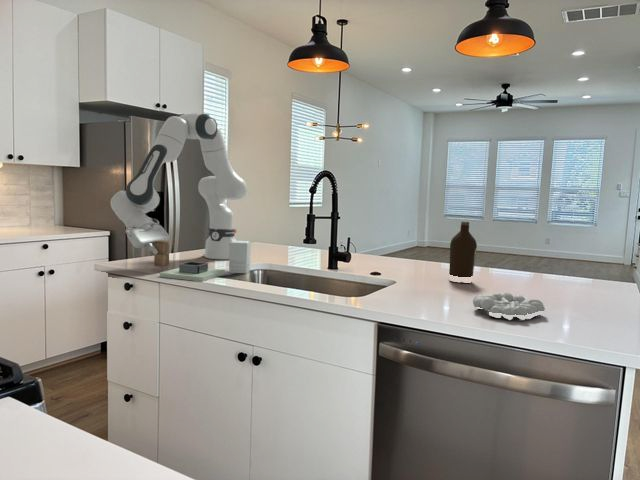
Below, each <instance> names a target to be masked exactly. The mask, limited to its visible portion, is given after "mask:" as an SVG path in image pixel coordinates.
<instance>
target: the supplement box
mask: <svg viewBox="0 0 640 480" xmlns="http://www.w3.org/2000/svg"><path fill="white" fill-rule="evenodd" d="M229 244H230V249H229V259H228V262H229V263H228V265H229V267H228V269H229V271H228V273H229V274H230V273H232V274H247V273H249V272H250V271H251V251H252V249H251V248H252V247H251V244H252V243H251V241H250V240H249V241H248V240H237V241H235V240H234V241H232V242H230V243H229Z"/></svg>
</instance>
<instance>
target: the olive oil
mask: <svg viewBox="0 0 640 480" xmlns="http://www.w3.org/2000/svg"><path fill="white" fill-rule="evenodd" d="M469 230H470V222H469V221H461V223H460V230H459V231H458V232H457V233H456V234H455V235H454V236H453V237H452V239H451V240H450V243H449V271H448V272H449V274H450V275H453V276H458V277H471V276H473V277H474V269H475V261H476V255H477V249H478V244H477V241H476V239H475V238H474V236H473V235H472V234H471V232H470V231H469ZM449 274H448V275H449Z"/></svg>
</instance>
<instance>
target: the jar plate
mask: <svg viewBox="0 0 640 480" xmlns="http://www.w3.org/2000/svg"><path fill="white" fill-rule="evenodd" d="M222 275H226V269H221V268H220V269H219V268H218V269H217V268H209V267H208V271H206V272H203V273H200V274H192V273H182V272H179V267H176V268H173V269H170V270H169V269H168V270H165V271H161V272H160V273H159V277H160V278H169V279H176V280H177V279H178V280H186V281H188V280H189V281H195V282H205V280H206V281H208V279H209V280H212V279H214V278H217V277H220V276H222ZM211 278H212V279H211Z"/></svg>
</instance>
